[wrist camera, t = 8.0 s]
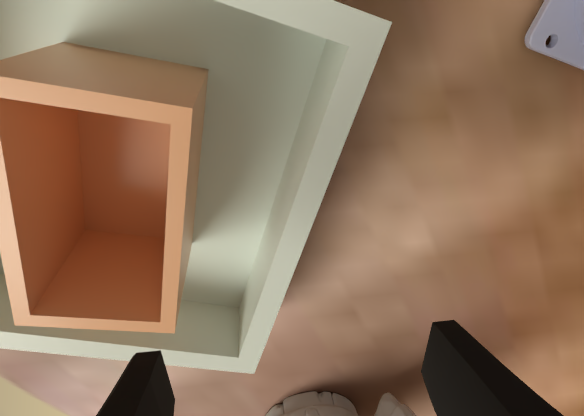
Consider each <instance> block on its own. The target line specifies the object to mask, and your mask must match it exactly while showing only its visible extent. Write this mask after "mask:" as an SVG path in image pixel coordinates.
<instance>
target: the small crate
mask: <svg viewBox="0 0 584 416" xmlns="http://www.w3.org/2000/svg"><path fill="white" fill-rule="evenodd" d="M208 70H209V69H205V68H199V67H194V66H189V65H184V64H178V63H173V62H168V61H162V60H157V59H152V58H146V57H141V56H136V55H131V54H125V53H120V52H115V51H109V50H104V49H99V48H93V47H88V46H83V45H78V44H72V43H67V42H61V43H57V44H54V45H50V46H47V47H43V48H40V49H37V50H33V51H30V52H26V53H23V54H19V55H16V56H12V57H9V58H5V59H2V60H0V254H1V259H2V264H3V269H4V274H5V279H6V284H7V289H8V294H9V299H10V304H11V309H12V314H13V319H14V325H15V326H35V327H55V328H75V329H94V330H114V331H134V332H154V333H174V334H175V329H176V324H177V319H178V314H179V309H180V303H181V298H182V293H183V288H184V283H185V277H186V272H187V267H188V262H189V257H190V251H191V246H192V239H193V228H194V218H195V207H196V197H197V186H198V176H199V165H200V155H201V144H202V134H203V123H204V113H205V102H206V92H207V81H208Z"/></svg>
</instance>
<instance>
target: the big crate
mask: <svg viewBox="0 0 584 416" xmlns="http://www.w3.org/2000/svg"><path fill="white" fill-rule="evenodd" d="M391 24H392V22H390V21H388V20H385V19H382V18H380V17H377V16H374V15H372V14H369V13H366V12H364V11H361V10H358V9H355V8H353V7H350V6H347V5H345V4H342V3H339V2H337V1H334V0H0V60H2V59H5V58H9V57H12V56H16V55H19V54H23V53H26V52H30V51H33V50H37V49H40V48H43V47H47V46H50V45H54V44H57V43H61V42H67V43H72V44H78V45H83V46H88V47H93V48H99V49H104V50H109V51H115V52H120V53H125V54H131V55H136V56H141V57H146V58H152V59H157V60H162V61H168V62H173V63H178V64H184V65H189V66H194V67H199V68H205V69H209V70H208V81H207V92H206V102H205V113H204V123H203V134H202V144H201V155H200V165H199V176H198V186H197V197H196V207H195V218H194V228H193V239H192V246H191V251H190V257H189V262H188V267H187V272H186V277H185V283H184V288H183V293H182V298H181V303H180V309H179V314H178V319H177V324H176V329H175V334H174V333H154V332H134V331H114V330H94V329H75V328H55V327H35V326H15V325H14V319H13V314H12V309H11V304H10V299H9V294H8V289H7V284H6V279H5V274H4V269H3V264H2V259H1V254H0V348H3V349H13V350H23V351H32V352H42V353H52V354H62V355H72V356H82V357H92V358H102V359H112V360H122V361H130V360H131V358H132V357H133V355H135V354H136V353H139V352H149V351H158V350H161V353H162V356H163V360H164V363H165V365H171V366H181V367H191V368H201V369H211V370H221V371H231V372H241V373H251V374H254V373H255V370H256V368H257V365H258V363H259V360H260V357H261V355H262V352H263V350H264V347H265V345H266V342H267V340H268V337H269V335H270V332H271V329H272V327H273V324H274V322H275V319H276V317H277V314H278V312H279V309H280V306H281V304H282V301H283V299H284V296H285V294H286V291H287V289H288V286H289V284H290V281H291V278H292V276H293V273H294V271H295V268H296V266H297V263H298V261H299V258H300V256H301V253H302V250H303V248H304V245H305V243H306V240H307V238H308V235H309V233H310V230H311V228H312V225H313V222H314V220H315V217H316V215H317V212H318V210H319V207H320V205H321V202H322V200H323V197H324V194H325V192H326V189H327V187H328V184H329V182H330V179H331V177H332V174H333V171H334V169H335V166H336V164H337V161H338V159H339V156H340V154H341V151H342V149H343V146H344V143H345V141H346V138H347V136H348V133H349V131H350V128H351V126H352V123H353V121H354V118H355V115H356V113H357V110H358V108H359V105H360V103H361V100H362V98H363V95H364V93H365V90H366V87H367V85H368V82H369V80H370V77H371V75H372V72H373V70H374V67H375V65H376V62H377V59H378V57H379V54H380V52H381V49H382V47H383V44H384V42H385V39H386V36H387V34H388V31H389V29H390V26H391Z"/></svg>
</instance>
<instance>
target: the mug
mask: <svg viewBox="0 0 584 416" xmlns="http://www.w3.org/2000/svg"><path fill="white" fill-rule="evenodd" d="M265 416H358V415H357V412H356V409H355V407H354V405H353V404H352V403H351V401H349V400H348V399H347V398H346V397H344V396H341V395H339V394H336V393H332V395H331V393H330V392H322V393H320V394H318V393H317V392H316V391H312V392H306V393H301V394H297V395H293V396H290V397H288V398H286V399H284V400H283V404H279V405H275V406H274V407H272V408H271V409H270V411H269V412H268V413H267V414H266V415H265ZM374 416H416V415H415V414H414V413H413V411H412V410H411V409H410V408H409V407H408V406H406V405H405V404H401V403H400V402H399V401H398V400H397V399H396V398H395V397H394V396H393V395H392V394H391V393H385V394H383V395H382V397H381V399H380V402H379V404H378V407H377V410H376V413H375V415H374Z"/></svg>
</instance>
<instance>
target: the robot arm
mask: <svg viewBox="0 0 584 416" xmlns="http://www.w3.org/2000/svg"><path fill="white" fill-rule="evenodd" d="M550 35H551V41H550V43H549V44H548V45H547V46H546V44H545V43H546V40H547V38H548V37H549V36H550ZM525 45H526V47H527V48H529V49H531V50H533V51H536V52H538V53H541V54H543V55H546V56H549V57H551V58H554V59H556V60H559V61H561V62H564V63H566V64H569V65H572V66H574V67H577V68H579V69H582V70H584V0H544V2H543V4H542V6H541V8H540V9H539V11H538V13H537V15H536V17H535V18H534V20H533V22H532V24H531V26H530V28H529V29H528V31H527V33H526V36H525ZM421 373H422V376H423V379H424V382H425V385H426V388H427V391H428V393H429V396H430V399H431V402H432V404H433V407H434V410H435V412H436V414H437V416H563V415H562V414H561V413H560V412H558V411H557V410H556V409H555V408H553V407H552V406H551V405H550V404H548V403H547V402H546V401H545V400H544V399H542V398H541V397H540V396H539V395H538V394H537V393H535V392H534V391H533V390H532V389H531V388H530V387H528V386H527V385H526V384H525V383H524V382H523V381H521V380H520V379H519V378H518V377H517V376H516V375H514V374H513V373H512V372H511V371H510V370H509V369H508V368H507V367H505V366H504V365H503V364H502V363H501V362H500V361H499V360H498V359H497V358H495V357H494V356H493V355H492V354H491V353H490V352H489V351H488V350H487V349H485V348H484V347H483V346H482V345H481V344H480V343H479V342H478V341H477V340H476V339H475V338H473V337H472V336H471V335H470V334H469V333H468V332H467V331H466V330H465V329H464V328H462V327H461V326H460V325H459V324H458V323H457V322H456V321H455V320H450V321H440V322H433V323H432V327H431V331H430V335H429V340H428V344H427V348H426V352H425V357H424V361H423V365H422V370H421ZM174 404H175V398H174V395H173V391H172V388H171V384H170V381H169V377H168V374H167V370H166V367H165V363H164V360H163V356H162V353H161V350H158V351H149V352H139V353H136V354H135V355H133V357H132V358H131V360H130V362H129V363H128V365H127V367H126V369H125V370H124V372H123V374H122V375H121V377H120V379H119V380H118V382H117V384H116V385H115V387H114V388H113V390H112V392H111V393H110V395H109V396H108V398H107V400H106V401H105V403H104V404H103V406H102V408H101V409H100V411H99V412H98V414H97V415H96V416H173V415H174Z"/></svg>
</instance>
